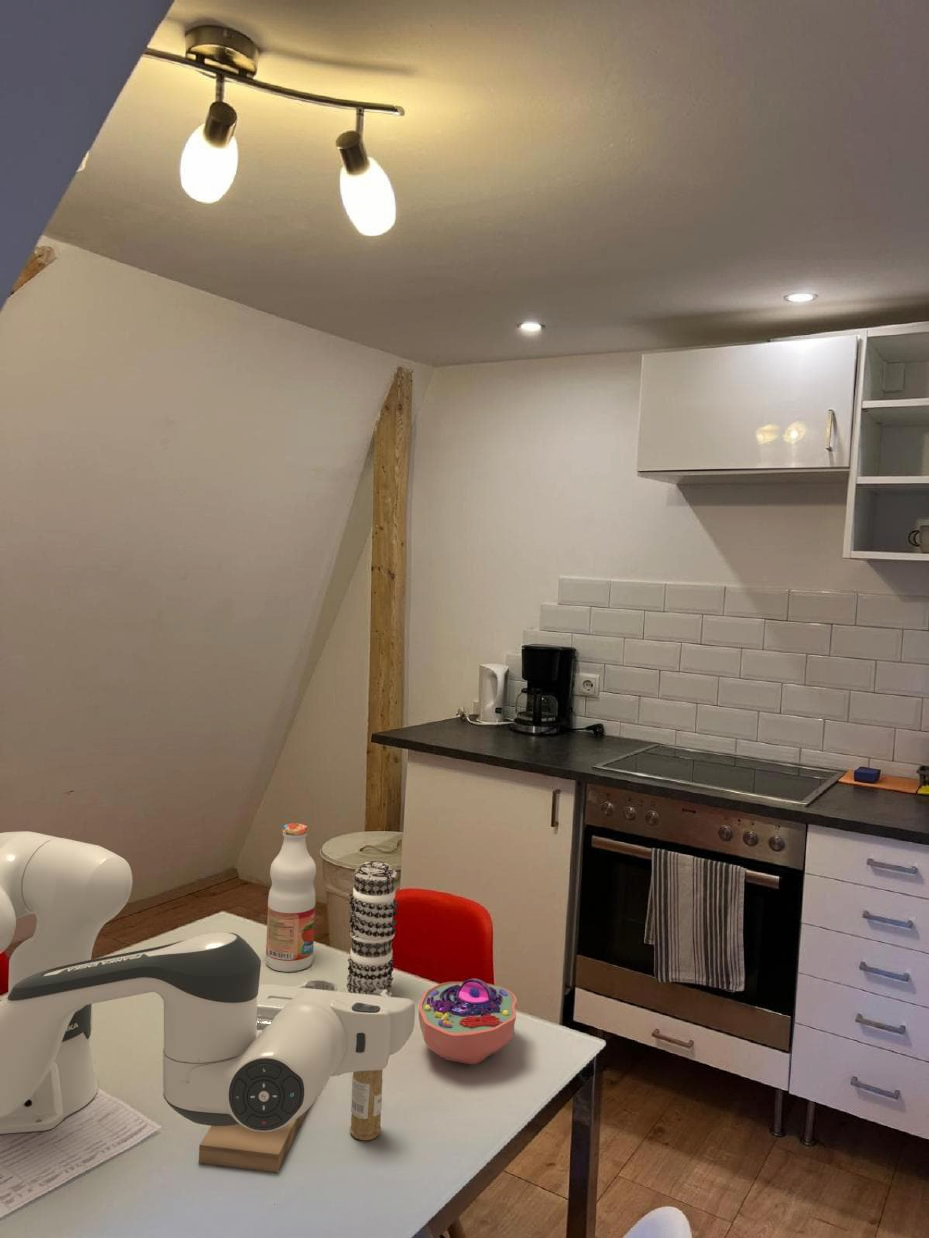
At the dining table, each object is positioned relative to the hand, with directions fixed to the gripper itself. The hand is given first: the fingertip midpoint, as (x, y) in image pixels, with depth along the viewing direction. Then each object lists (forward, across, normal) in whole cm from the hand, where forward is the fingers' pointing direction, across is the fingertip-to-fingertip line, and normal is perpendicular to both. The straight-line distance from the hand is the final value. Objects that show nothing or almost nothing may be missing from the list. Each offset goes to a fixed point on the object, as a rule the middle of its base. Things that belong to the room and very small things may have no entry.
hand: (346, 991), depth 122 cm
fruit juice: (+68, -30, -20) cm, 77 cm away
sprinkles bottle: (+17, -1, -26) cm, 31 cm away
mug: (+44, -18, -23) cm, 53 cm away
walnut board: (+16, -16, -26) cm, 34 cm away
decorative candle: (+59, -11, -22) cm, 64 cm away
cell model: (+43, +10, -24) cm, 50 cm away
